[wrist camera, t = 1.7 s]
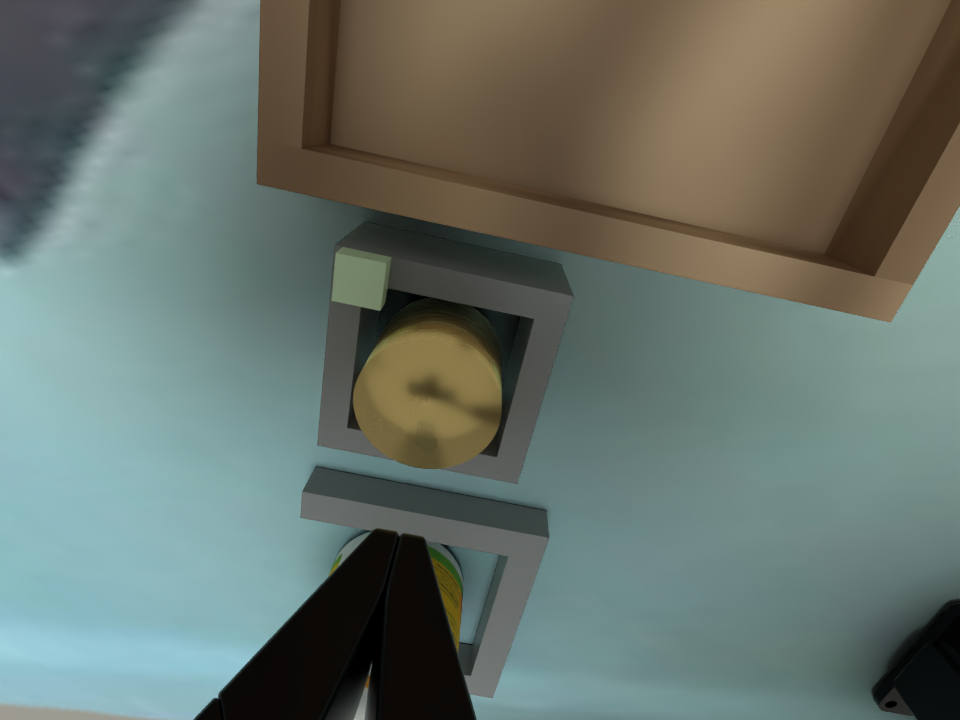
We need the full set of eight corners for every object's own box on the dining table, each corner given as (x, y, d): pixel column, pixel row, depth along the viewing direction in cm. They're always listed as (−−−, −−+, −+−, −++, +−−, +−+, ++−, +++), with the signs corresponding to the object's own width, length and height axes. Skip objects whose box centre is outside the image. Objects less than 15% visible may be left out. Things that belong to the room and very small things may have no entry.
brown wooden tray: (1021, -84, 12) (1161, -137, 9) (828, 288, 16) (890, 322, 13) (322, -270, 11) (268, -384, 8) (298, 171, 15) (256, 183, 12)
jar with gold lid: (514, 312, 15) (517, 357, 12) (487, 418, 16) (484, 480, 13) (387, 285, 14) (361, 325, 12) (373, 396, 16) (346, 453, 13)
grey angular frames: (625, 278, 16) (657, 321, 13) (493, 666, 24) (491, 754, 21) (337, 215, 15) (292, 244, 12) (300, 633, 23) (268, 718, 20)
